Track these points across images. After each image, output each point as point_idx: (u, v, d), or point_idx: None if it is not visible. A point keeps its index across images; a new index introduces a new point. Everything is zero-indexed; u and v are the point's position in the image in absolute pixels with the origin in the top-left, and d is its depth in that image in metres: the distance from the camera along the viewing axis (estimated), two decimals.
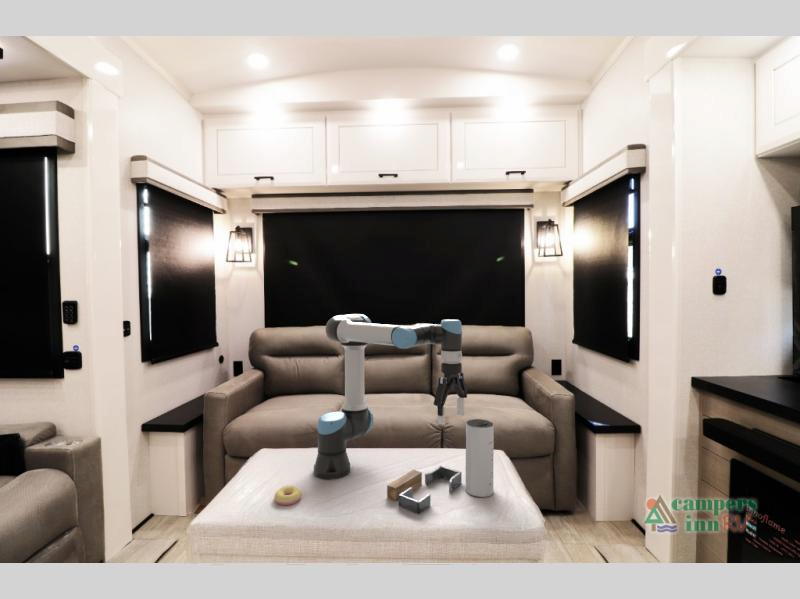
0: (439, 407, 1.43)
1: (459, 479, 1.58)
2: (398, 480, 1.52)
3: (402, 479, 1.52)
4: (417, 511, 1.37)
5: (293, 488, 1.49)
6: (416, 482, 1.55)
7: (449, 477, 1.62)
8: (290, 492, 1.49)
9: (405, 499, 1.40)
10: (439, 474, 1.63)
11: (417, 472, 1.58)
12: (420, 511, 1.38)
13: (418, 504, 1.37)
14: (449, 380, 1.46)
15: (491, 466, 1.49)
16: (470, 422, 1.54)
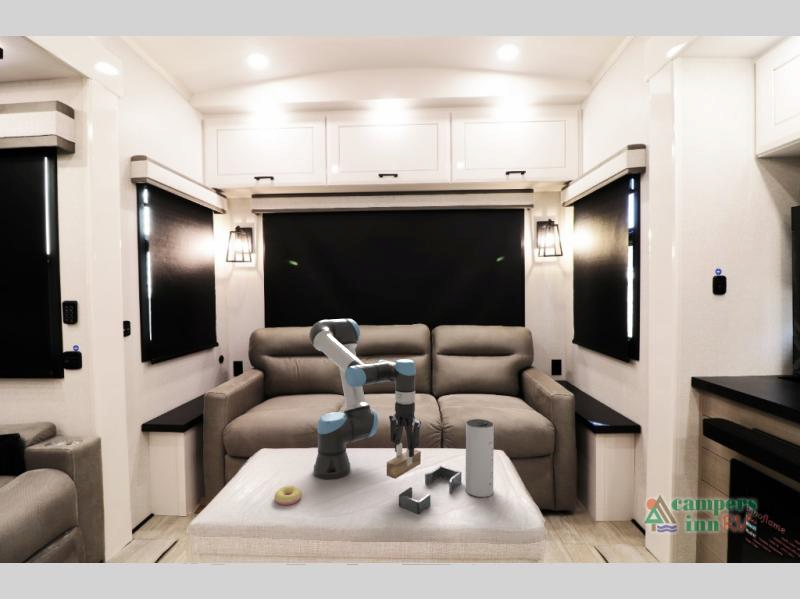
0: None
1: (459, 479, 1.58)
2: (398, 457, 1.52)
3: (401, 457, 1.52)
4: (417, 511, 1.37)
5: (293, 488, 1.49)
6: (415, 461, 1.55)
7: (449, 477, 1.62)
8: (290, 492, 1.49)
9: (405, 499, 1.40)
10: (439, 474, 1.63)
11: (416, 451, 1.58)
12: (420, 511, 1.38)
13: (418, 504, 1.37)
14: (396, 416, 1.53)
15: (491, 466, 1.49)
16: (470, 422, 1.54)
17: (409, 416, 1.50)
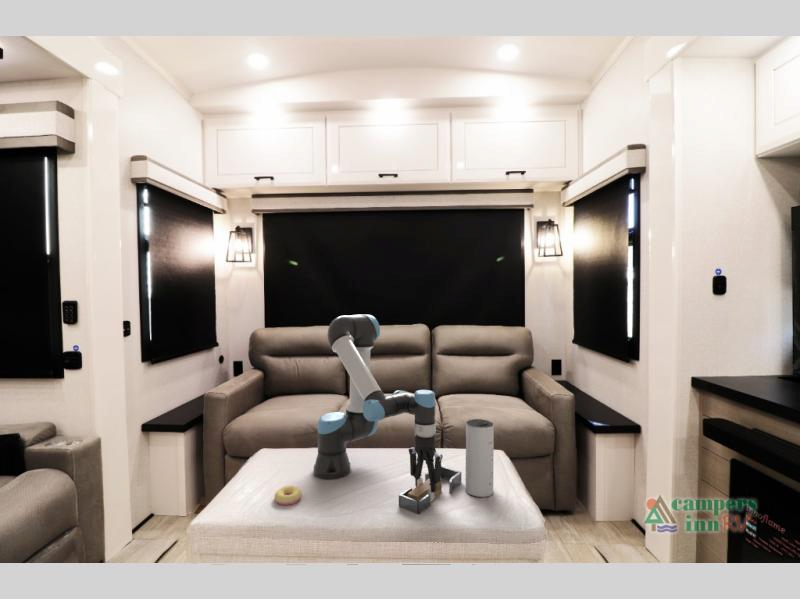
0: None
1: (459, 479, 1.58)
2: (419, 487, 1.46)
3: (423, 486, 1.46)
4: (417, 511, 1.37)
5: (293, 488, 1.49)
6: (436, 490, 1.50)
7: (449, 477, 1.62)
8: (290, 492, 1.49)
9: (405, 499, 1.40)
10: None
11: None
12: (420, 511, 1.38)
13: (418, 504, 1.37)
14: (416, 450, 1.48)
15: (491, 466, 1.49)
16: (470, 422, 1.54)
17: (430, 450, 1.44)
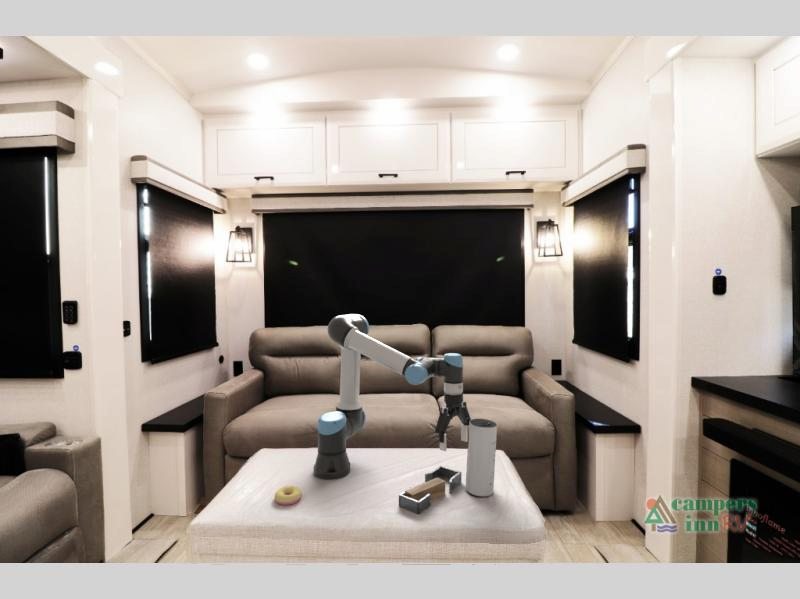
0: (440, 435, 1.57)
1: (459, 479, 1.58)
2: (418, 486, 1.46)
3: (422, 486, 1.47)
4: (417, 511, 1.37)
5: (293, 488, 1.49)
6: (438, 491, 1.49)
7: (449, 477, 1.62)
8: (290, 492, 1.49)
9: (405, 499, 1.40)
10: (439, 474, 1.63)
11: (440, 480, 1.51)
12: (420, 511, 1.38)
13: (418, 504, 1.37)
14: (450, 410, 1.60)
15: (492, 466, 1.49)
16: (473, 421, 1.53)
17: (459, 404, 1.63)
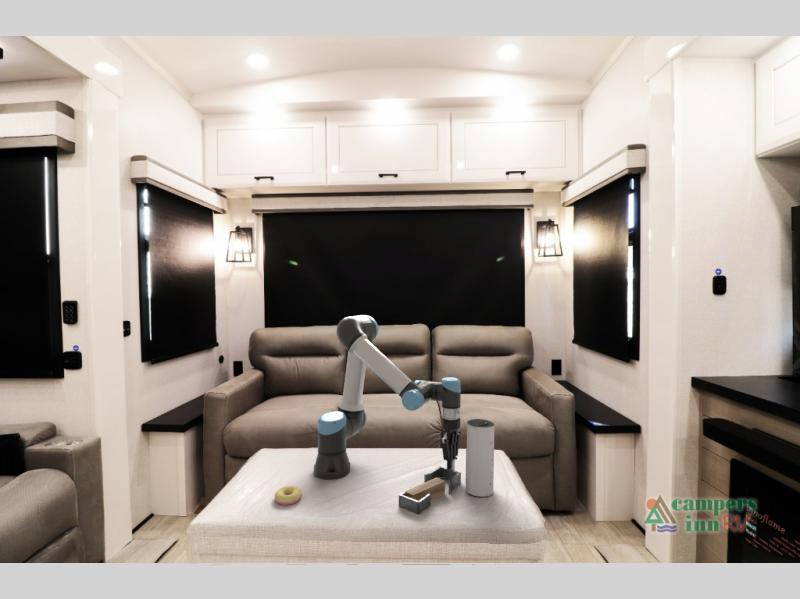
0: (448, 461, 1.61)
1: (458, 479, 1.58)
2: (418, 487, 1.46)
3: (422, 486, 1.47)
4: (417, 511, 1.37)
5: (293, 488, 1.49)
6: (438, 491, 1.49)
7: (448, 477, 1.61)
8: (290, 492, 1.49)
9: (405, 499, 1.40)
10: (438, 475, 1.63)
11: (440, 480, 1.51)
12: (420, 511, 1.38)
13: (418, 504, 1.37)
14: (449, 435, 1.59)
15: (491, 466, 1.49)
16: (471, 422, 1.54)
17: None
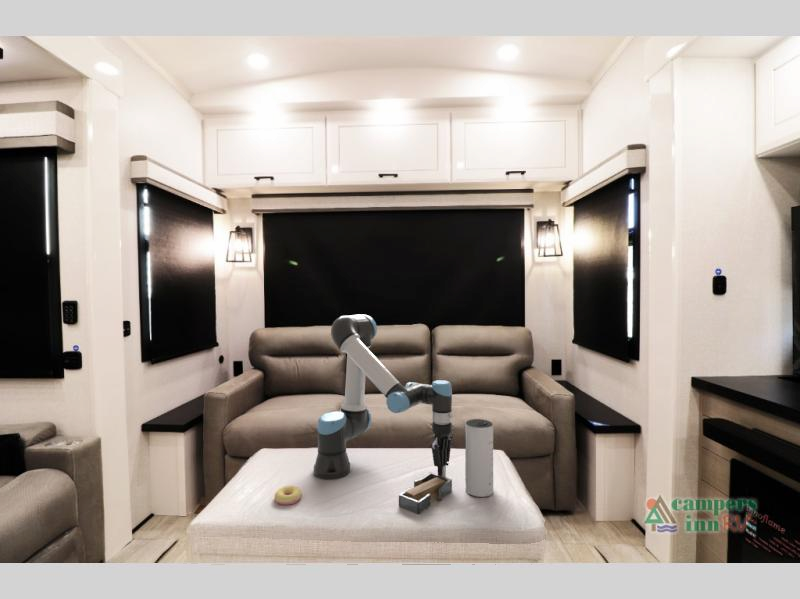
0: (439, 467, 1.55)
1: (449, 486, 1.52)
2: (418, 487, 1.46)
3: (422, 486, 1.47)
4: (417, 511, 1.37)
5: (293, 488, 1.49)
6: (438, 491, 1.49)
7: None
8: (290, 492, 1.49)
9: (405, 499, 1.40)
10: None
11: (440, 480, 1.51)
12: (420, 511, 1.38)
13: (418, 504, 1.37)
14: (439, 440, 1.53)
15: (491, 466, 1.49)
16: (469, 422, 1.53)
17: None
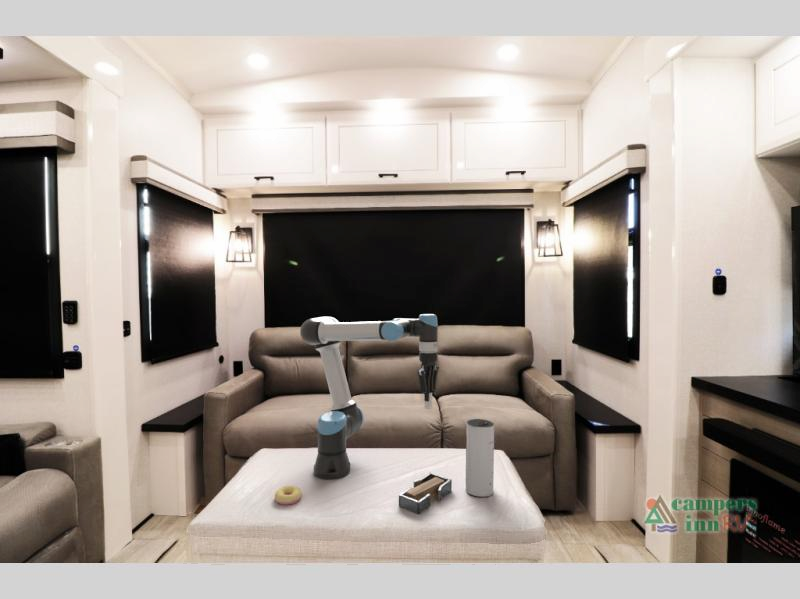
0: (426, 394, 1.67)
1: (449, 487, 1.52)
2: (419, 487, 1.46)
3: (422, 486, 1.46)
4: (417, 511, 1.37)
5: (293, 488, 1.49)
6: None
7: None
8: (290, 492, 1.49)
9: (405, 499, 1.40)
10: None
11: (439, 480, 1.51)
12: (420, 511, 1.38)
13: (418, 504, 1.37)
14: (426, 367, 1.65)
15: (491, 466, 1.49)
16: (470, 422, 1.54)
17: (434, 362, 1.70)
